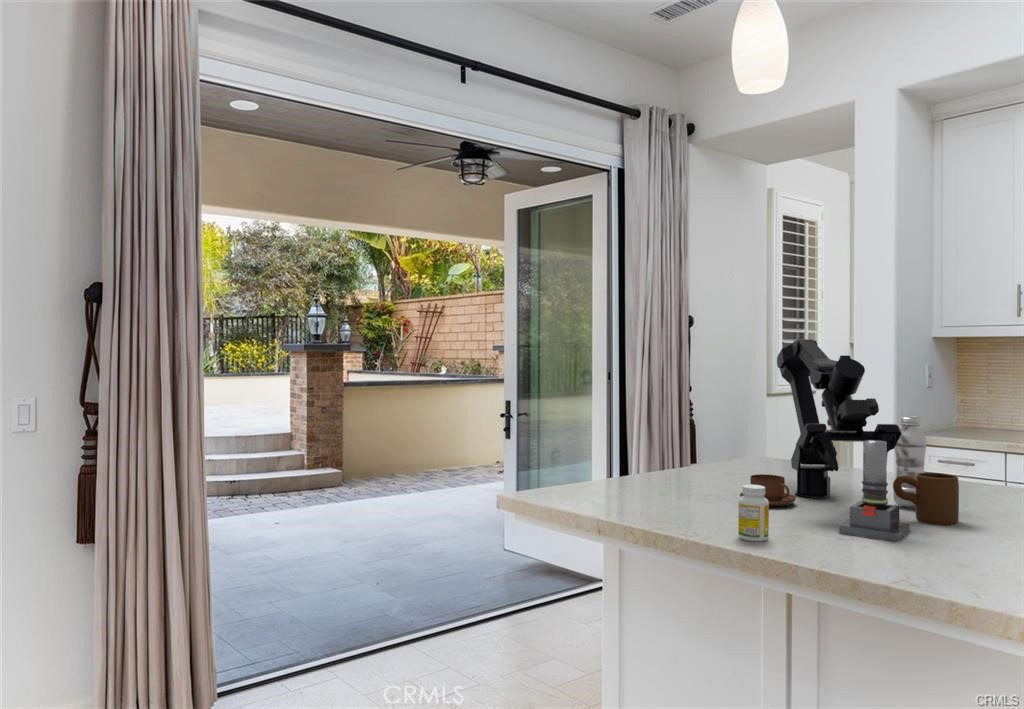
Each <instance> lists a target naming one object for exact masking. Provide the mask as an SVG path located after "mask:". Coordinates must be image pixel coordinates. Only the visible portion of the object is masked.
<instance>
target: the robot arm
mask: <svg viewBox="0 0 1024 709" xmlns="http://www.w3.org/2000/svg"><path fill="white" fill-rule="evenodd" d="M776 365H777V368H778V369H779V372H780V374H781V375H780V376H781V377H782V378H783V379H784V380H785V381H786V382H787V383H788V384H789V385H790V390H791V394H792V400H793V404H794V408H795V414H796V417H797V418H796V419H797V422H798V428H799V436H798V439H797V441H796V443H795V448H794V451H793V453H792V456H791V458H790V461H791V462H790V463H791V464H790V465H791V468H792V469H793V470H795V471H796V477H797V478H796V492H795V493H794V494H793V496H795V497H796V496H797V497H798V496H799V497H805V498H813V499H821V500H822V499H824V498H827V497H828V496H831V476H829V472H834V471H835V472H839V468H840V467H839V463H838V460H837V455H838V452H837V449H836V447H835V445H834V442H835V441H836V442H840V441H841V442H854V443H855V442H858V443H859V442H861V443H863V441H864V440H880V441H886V442H887V455H888V453H889V452H890V451H892V450H894V448H895V446H896V444H897V442H898V440H899V438H900V436H901V434H902V433H901V430H900V429H901V427H900V426H899V425H898V424H895V423H877V425H876V427H875V429H874V431H873V430H872V431H871V430H864V428H865V427H866V426H867V424H868V422H867V419H868V418H869V417H871V416H872V417H873V416H874V417H875V416H876V415H877V414H878V413H879V411H880V408H879V404H878V401H877V399H876V398H875V397H874V398H872V397H871V398H866V399H853V398H852V395H854V394H857V392H858V389H859V387H860V384H861V382H862V380H863V377H864V375H865V373H866V372H865V370H866V369H865V366H864V365H862V363H860V362H859V361H858V360H856V359H853V358H851V355H839V358H838V360H836V359H831V358H829V357H828V356H827V354H826V353H825V352H824V351H823V350H822V349H821V348H820V346H818V342H817V341H816V340H814V339H811V338H810V339H809V338H808V339H807V338H804V339H795V340H793V342H792V343H791V344H789V345H787V346H785V347H783V348H781V350H780V351H779V353H778V354H777V357H776ZM812 386H813V388H814V389H816V390H823V392H822V393H821V399H822V400H821V407H823V408H824V410H825V411H826V415H827V418H828V419H827V421H826V422H827V424H825V423H820V418H819V415H818V411H817V405H816V401H815V397H814V393H813V389H812ZM827 426H829V427H831V429H827ZM833 441H834V442H833Z"/></svg>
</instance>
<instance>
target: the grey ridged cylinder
mask: <svg viewBox="0 0 1024 709" xmlns="http://www.w3.org/2000/svg"><path fill="white" fill-rule="evenodd" d="M862 443H863V446H862V447H863V448H862V450H863V451H862V453H863V454H862V455H863V457H862V461H863V462H862V472H863V473H862V481H861V484H862V489H861V492H862V497H861V501H862V502H863V503H865V504H869V505H886V504H889V502H888V501H889V499H888V498H887V495H888V494H889V490H887V486H888V485H889V484H888V482H887V479H888V478H887V471H888V470H887V465H888V454H887V442H886V441H880V440H864V441H863V442H862Z"/></svg>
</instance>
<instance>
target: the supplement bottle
mask: <svg viewBox="0 0 1024 709" xmlns="http://www.w3.org/2000/svg"><path fill="white" fill-rule="evenodd" d="M742 492H743V494H744V496H742V497H739V499H738V521H737V522H738V531H737V532H738V533H737V535H738V537H739V539H742V540H744V541H748V542H766V541H767V540H768V539H769V529H770V527H769V525H770V524H769V522H770V520H769V519H770V518H769V516H770V506H769V501H768V500H767V499H766V498H765V497H764V495H765V487H764V486H760V485H751V484H744V485H742ZM742 492H741V493H742Z"/></svg>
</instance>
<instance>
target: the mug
mask: <svg viewBox="0 0 1024 709" xmlns="http://www.w3.org/2000/svg"><path fill="white" fill-rule="evenodd" d="M902 483H907V484H909V485H912V486H914V487H916V495H915V494H913V493H910V492H905V491H903V490H902V487H901V484H902ZM892 489H893V493H894V492H895V494H896V495H897V496H898V497H899V498H901V499H903V500H907V501H911V502H912V503H914V504H915V505H916V508H915V518H916V520H917V521H918V522H920V523H924V524H927V525H928V524H929V525H934V526H954V525H957V524H958V522H959V516H960V515H959V510H960V509H959V508H960V504H959V503H960V499H959V498H960V484H959V477H958V476H957V475H955V474H954V475H953V474H949V473H942V472H939V473H938V472H924V473H918V474H917V476H916V479H915V478H912V477H910V476H907V475H905V476H899V477H897V478H896V477H895V479H894V480H893V483H892Z"/></svg>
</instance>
